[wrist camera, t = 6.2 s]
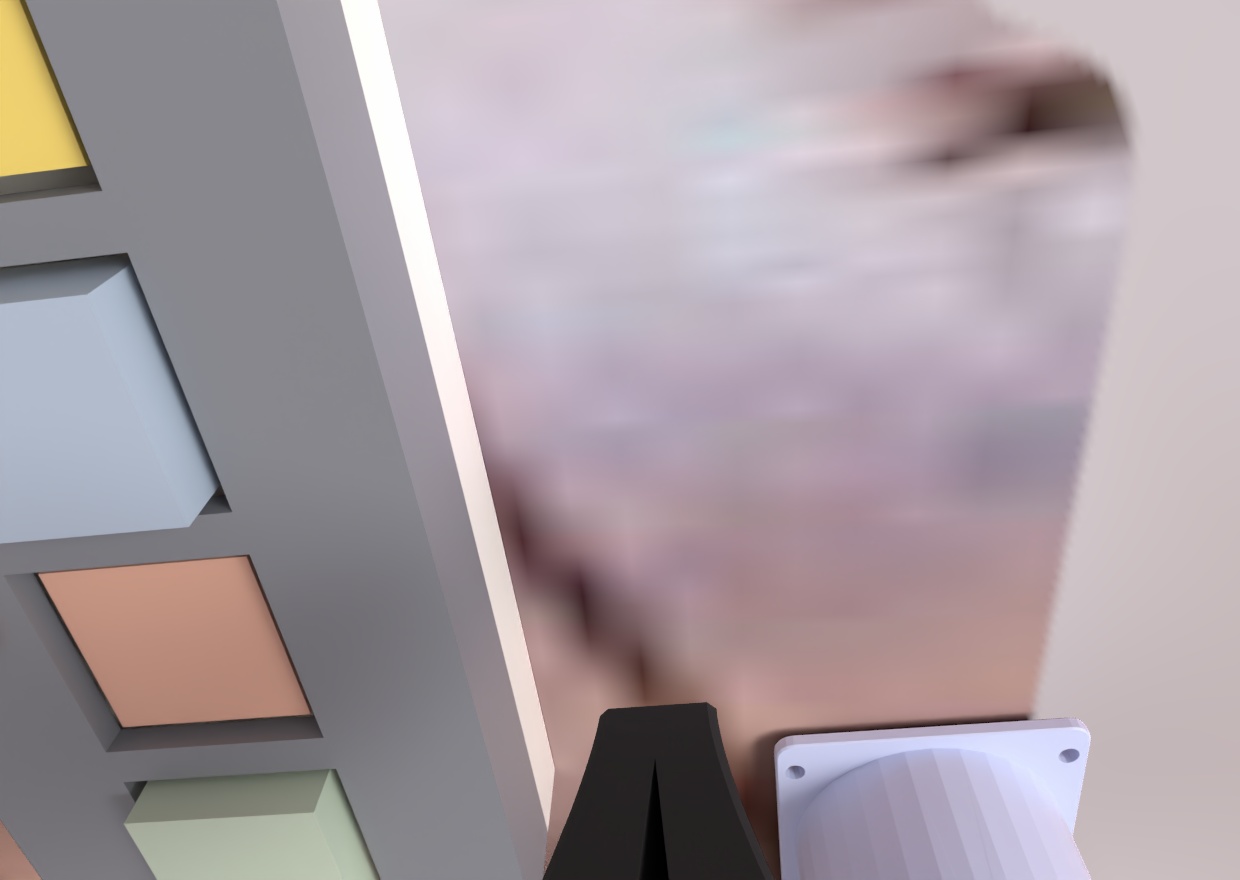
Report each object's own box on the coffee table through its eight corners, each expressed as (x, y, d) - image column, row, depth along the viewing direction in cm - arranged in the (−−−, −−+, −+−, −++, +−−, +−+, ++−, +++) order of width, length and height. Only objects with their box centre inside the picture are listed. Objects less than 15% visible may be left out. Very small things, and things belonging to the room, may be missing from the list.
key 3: (232, 468, 16) (189, 526, 15) (21, 487, 17) (-43, 547, 15) (147, 251, 14) (87, 294, 13) (-90, 279, 15) (-176, 324, 13)
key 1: (386, 858, 22) (366, 932, 20) (225, 867, 22) (193, 939, 21) (340, 741, 20) (313, 812, 18) (163, 752, 20) (123, 824, 19)
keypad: (554, 769, 25) (536, 938, 21) (175, 793, 26) (87, 959, 22) (306, -304, 14) (158, -392, 10) (-359, -194, 15) (-755, -231, 11)
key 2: (336, 651, 20) (310, 714, 19) (162, 664, 21) (122, 727, 19) (280, 500, 18) (246, 556, 17) (89, 517, 19) (38, 573, 17)
